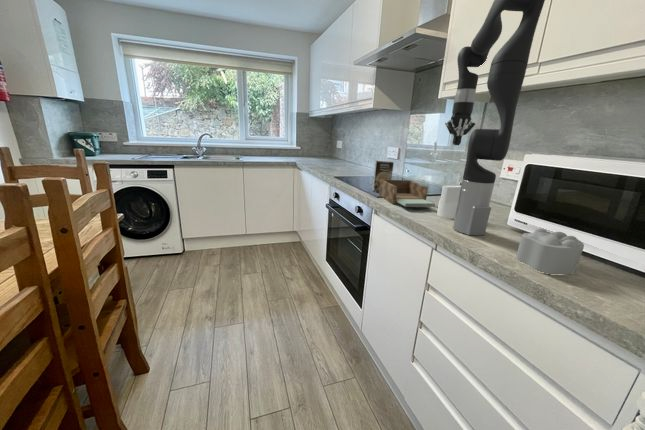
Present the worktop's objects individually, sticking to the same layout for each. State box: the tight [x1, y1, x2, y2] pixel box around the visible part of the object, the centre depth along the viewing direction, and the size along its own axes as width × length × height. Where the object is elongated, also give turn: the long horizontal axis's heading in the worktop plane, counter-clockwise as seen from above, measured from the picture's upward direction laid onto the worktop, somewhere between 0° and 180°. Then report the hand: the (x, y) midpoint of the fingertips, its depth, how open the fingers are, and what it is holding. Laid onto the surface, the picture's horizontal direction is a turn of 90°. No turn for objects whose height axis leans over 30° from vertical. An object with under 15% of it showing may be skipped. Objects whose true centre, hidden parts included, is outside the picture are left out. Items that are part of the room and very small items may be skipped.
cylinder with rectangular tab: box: [436, 185, 461, 220], centre depth 109 cm, size 9×9×12 cm
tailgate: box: [397, 199, 436, 208], centre depth 120 cm, size 1×13×9 cm
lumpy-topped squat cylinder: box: [515, 228, 585, 275], centre depth 70 cm, size 10×13×9 cm
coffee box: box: [371, 160, 394, 193], centre depth 149 cm, size 9×6×16 cm
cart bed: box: [378, 179, 429, 205], centre depth 133 cm, size 18×16×8 cm
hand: (456, 145), depth 118 cm, fingers closed
